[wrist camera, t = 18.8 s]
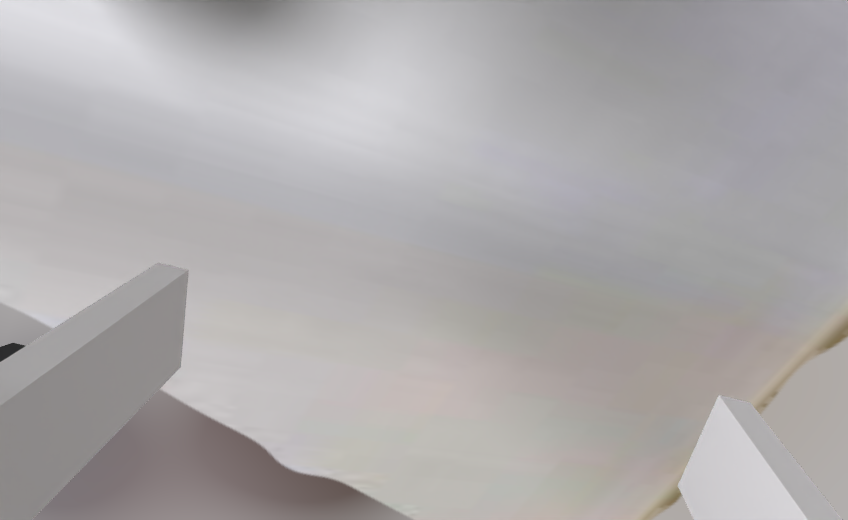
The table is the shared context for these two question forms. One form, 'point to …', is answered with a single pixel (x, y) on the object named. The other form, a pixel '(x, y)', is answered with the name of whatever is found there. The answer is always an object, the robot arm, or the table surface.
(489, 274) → the table surface
